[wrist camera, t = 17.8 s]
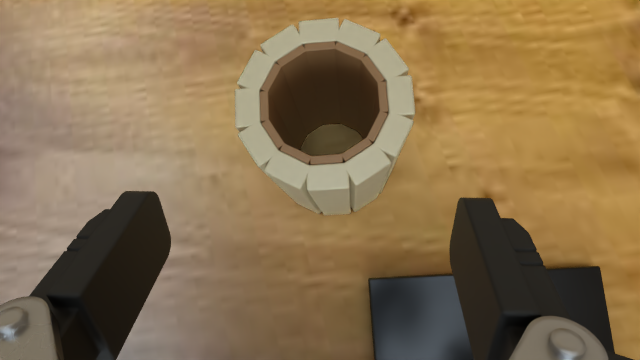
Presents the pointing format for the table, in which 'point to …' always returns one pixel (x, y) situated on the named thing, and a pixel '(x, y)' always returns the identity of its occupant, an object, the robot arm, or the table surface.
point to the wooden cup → (325, 111)
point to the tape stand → (447, 318)
